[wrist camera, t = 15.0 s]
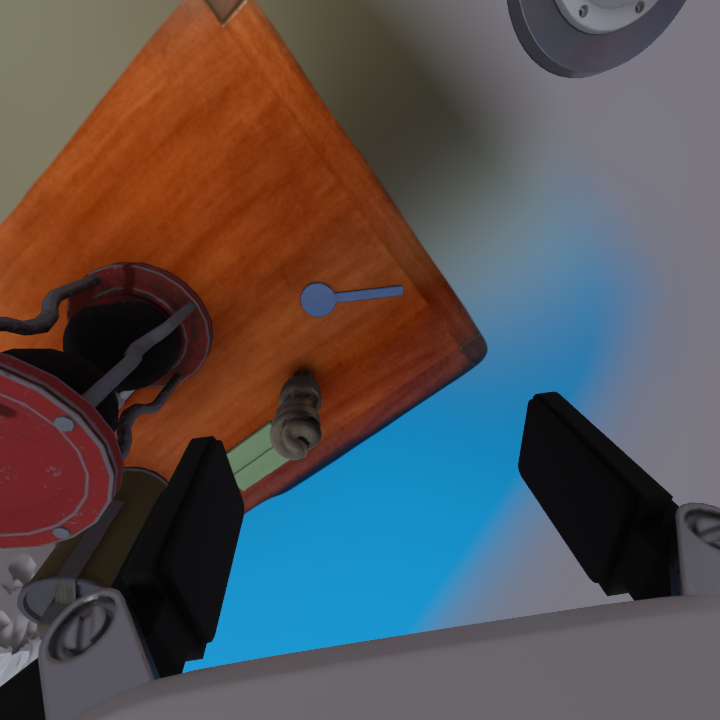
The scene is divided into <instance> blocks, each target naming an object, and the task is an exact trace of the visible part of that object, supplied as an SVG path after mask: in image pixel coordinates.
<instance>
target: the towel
mask: <svg viewBox="0 0 720 720" xmlns="http://www.w3.org/2000/svg"><path fill="white" fill-rule="evenodd" d="M271 427H272V422H271V421H269V422H268V423H266V424H265V425H264V426H262V427H261V428H260V429H258V430H257V431H255V432H254V433H253V434H251V435H250V436H248V437H247V438H246V439H244V440H243V441H242V442H240V443H239V444H237V445H236V446H235V447H233V448H232V449H230V450H229V451H228V452H226V454H227V457H228V460H229V463H230V466H231V468H232V471H233V474H234V477H235V480H236V482H237V485H238V487H239V488H240V489H242V490H243V491H244V490H246V489H247V488H249V487H250V486H252V485H253V484H255V483H256V482H258V481H259V480H260V479H262V478H263V477H265V476H266V475H268V474H269V473H271V472H272V471H274V470H275V469H277V468H278V467H279V466H281V465H282V464H284V463H285V462H287V461H288V460H289V459H285V458H284V457H282V456H280V455H279V454H278V453H277V452H276V451H275V450H274V448H273V446H272V444H271V441H270V430H271Z"/></svg>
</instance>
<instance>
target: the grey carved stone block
mask: <svg viewBox="0 0 720 720" xmlns="http://www.w3.org/2000/svg"><path fill="white" fill-rule="evenodd" d="M59 542H60V541H59ZM59 542H56V543H52V544H49V545H45V546H42V547H31V548H14V549H0V686H2V685H3V684H4V683H6V682H7V681H8V680H9V679H11V678H12V677H13V676H15V675H16V674H17V673H18V672H20V671H21V670H22V669H24V668H25V667H26V666H27V665H29V664H30V663H31V662H33V661H34V660H35V659H36V658H38V652H39V646H40V643H41V641H42V640H40V636H39V632H37V624H35V623H34V622H32V621H31V620H29V619H28V618H26V617H25V616H24V615H23V614H22V613H21V611H20V610H19V609H18V606H17V598H18V596H19V593H20V591H21V590H22V589H23V588H24V587H25V586H26V585H28V584H29V582H30V581H31V579H32V578H33V577H34V575H35V574H36V573H37V571H38V570H39V569H40V567H41V566H42V565H43V563H44V562H45V561H46V559H47V558H48V556H49V555H50V554H51V552H52V551H53V550H54V548H55V547H56V546H57V544H58V543H59Z"/></svg>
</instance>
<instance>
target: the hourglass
mask: <svg viewBox="0 0 720 720" xmlns="http://www.w3.org/2000/svg"><path fill="white" fill-rule="evenodd" d="M67 298H69V299H68V304H67V322H68V324H67V326H66V328H65V331H64V336H63V350H64V352H62V351H58V350H54V349H11V350H7V351H4V352H1V353H0V549H14V548H31V547H42V546H45V545H49V544H52V543H56V542H59V541H63V540H66V539H70V538H73V537H75V536H76V535H78V534H79V533H81V532H83V531H84V530H86V529H87V528H89V527H90V526H92V525H94V524H95V523H97V521H98V520H99V518H100V517H101V516H102V514H103V513H104V511H105V510H106V508H107V507H108V505H109V504H110V502H111V501H112V499H113V498H114V496H115V495H116V493H117V492H118V490H119V489H120V487H121V482H122V474H123V465H124V459H125V458H126V456H127V455H128V453H129V451H130V447H131V443H132V433H131V427H132V425H133V423H134V421H135V419H136V418H137V417H138V416H140V415H141V414H152V413H154V412H157V411H159V410H160V408H161V407H162V406H163V404H164V403H165V402H166V400H167V399H168V397H169V396H170V395H171V393H172V392H173V390H174V389H175V387H176V386H177V385H178V383H179V382H182V381H184V380H185V379H187V378H188V377H189V376H191V375H192V374H194V373H195V372H197V370H198V369H199V367H200V366H201V364H202V363H203V362H204V360H205V359H206V357H207V356H208V354H209V352H210V347H211V342H212V338H213V334H212V328H211V321H210V317H209V315H208V313H207V311H206V309H205V307H204V305H203V303H202V301H201V299H200V298H199V297H198V296H197V295H196V294H195V293H194V292H193V291H192V290H191V289H190V288H189V287H188V286H187V284H186V283H184V282H183V281H181V280H180V279H178V278H176V277H175V276H173V275H172V274H170V273H168V272H167V271H165V270H162V269H159V268H156V267H153V266H150V265H146V264H143V263H121V262H118V263H115V264H112V265H109V266H106V267H102V268H99V269H96V270H94V271H91V272H90V273H89V274H87V275H86V276H85V277H84V278H82V279H80V280H77V281H74V282H72V283H69V284H67V285H64V286H62V287H59V288H56V289H54V290H51V291H49V293H48V294H47V296H46V297H45V299H44V300H43V302H42V313H41V314H40V315H38V316H37V317H36V318H35V319H31V320H26V321H21V320H17V319H13V318H8V317H0V331H8V332H12V333H16V334H20V335H34V334H40V333H45V332H48V331H49V330H50V329H51V328H52V326H53V325H54V324H55V323H56V322H57V320H58V318H59V312H58V306H59V304H60V302H61V301H62V300H65V299H67ZM144 387H164V388H163V389H162V391H161V392H160V393H159V395H158V396H157V397H156V398H155V400H154V401H153V402H151V403H149V404H134V405H132V406H130V407H128V408H127V409H125V410H124V411H123V412H122V413H121V416H120V418H119V421H118V413H119V402H118V399H117V396H116V393H115V391H131V390H137V389H140V388H144ZM116 428H117V437H118V439H116V436H115V433H114V432H115V430H116Z"/></svg>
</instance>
